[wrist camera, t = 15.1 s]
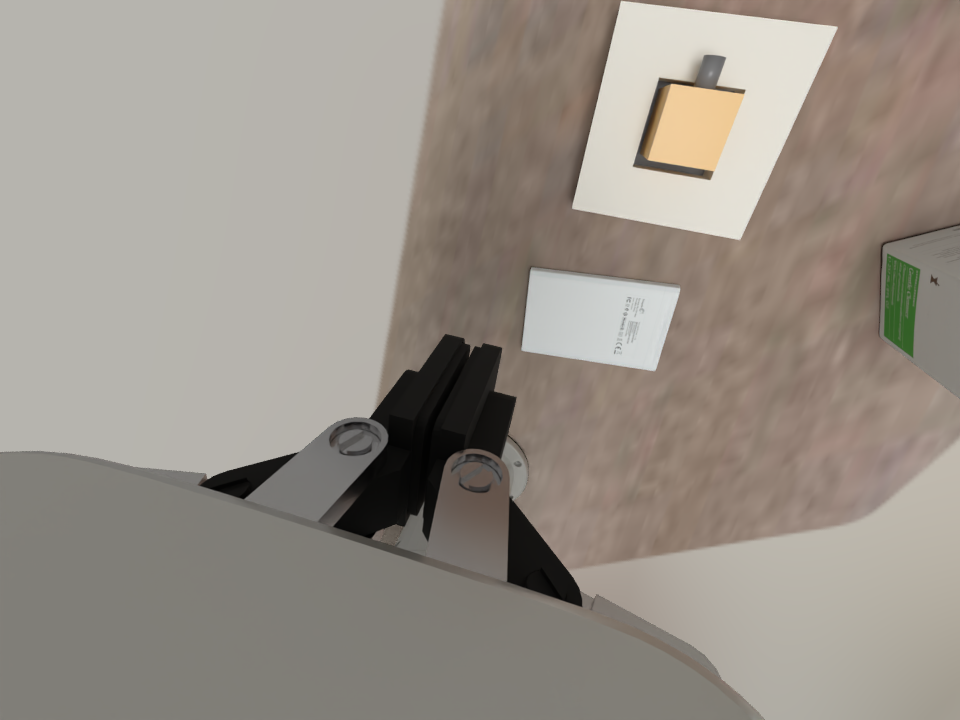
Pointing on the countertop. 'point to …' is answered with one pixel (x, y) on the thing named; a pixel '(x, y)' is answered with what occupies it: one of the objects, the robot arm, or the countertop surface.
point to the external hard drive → (598, 317)
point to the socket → (676, 60)
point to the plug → (692, 120)
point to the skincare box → (924, 303)
